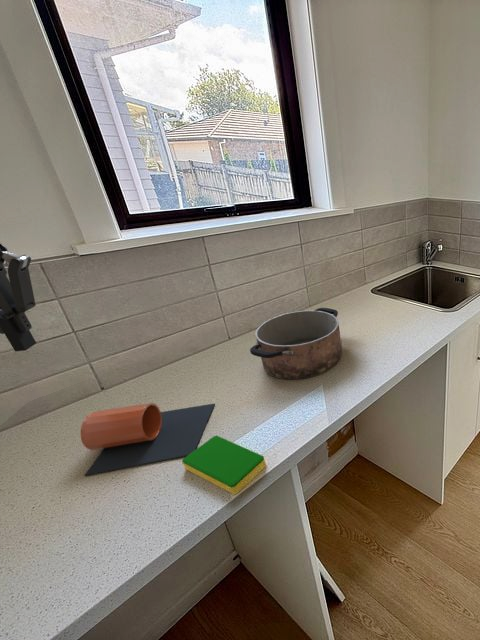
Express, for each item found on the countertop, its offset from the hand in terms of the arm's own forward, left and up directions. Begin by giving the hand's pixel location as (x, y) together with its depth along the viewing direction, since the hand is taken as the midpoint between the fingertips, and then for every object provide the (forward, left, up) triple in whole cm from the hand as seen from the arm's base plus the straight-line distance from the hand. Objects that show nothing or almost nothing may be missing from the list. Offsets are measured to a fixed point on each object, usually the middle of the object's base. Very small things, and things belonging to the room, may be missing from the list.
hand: (26, 347), depth 61 cm
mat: (+15, -4, -23) cm, 28 cm away
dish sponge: (+31, -17, -23) cm, 42 cm away
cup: (+6, -4, -18) cm, 20 cm away
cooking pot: (+44, +20, -23) cm, 54 cm away
